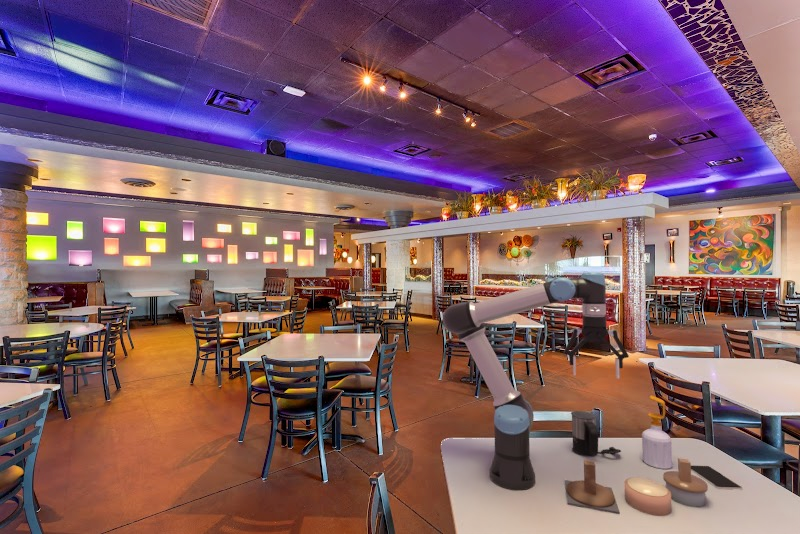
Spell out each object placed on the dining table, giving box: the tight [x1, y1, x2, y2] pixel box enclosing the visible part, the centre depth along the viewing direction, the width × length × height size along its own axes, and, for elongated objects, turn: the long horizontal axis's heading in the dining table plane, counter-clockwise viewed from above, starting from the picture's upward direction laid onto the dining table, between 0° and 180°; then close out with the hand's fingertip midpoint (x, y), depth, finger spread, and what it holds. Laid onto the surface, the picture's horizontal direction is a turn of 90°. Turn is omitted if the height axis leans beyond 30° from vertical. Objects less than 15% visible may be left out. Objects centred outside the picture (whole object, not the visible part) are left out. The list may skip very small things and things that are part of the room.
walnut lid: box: [567, 459, 616, 508], centre depth 120 cm, size 14×14×10 cm
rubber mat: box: [564, 479, 620, 515], centre depth 120 cm, size 14×14×1 cm
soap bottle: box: [641, 395, 673, 470], centre depth 142 cm, size 9×9×25 cm
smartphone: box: [691, 465, 743, 490], centre depth 131 cm, size 8×1×15 cm
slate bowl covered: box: [662, 457, 708, 508], centre depth 119 cm, size 11×11×11 cm
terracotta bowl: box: [624, 477, 672, 517], centre depth 116 cm, size 12×12×5 cm
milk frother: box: [570, 410, 622, 457], centre depth 150 cm, size 14×16×15 cm
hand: (595, 376), depth 134 cm, fingers open, 13 cm apart
